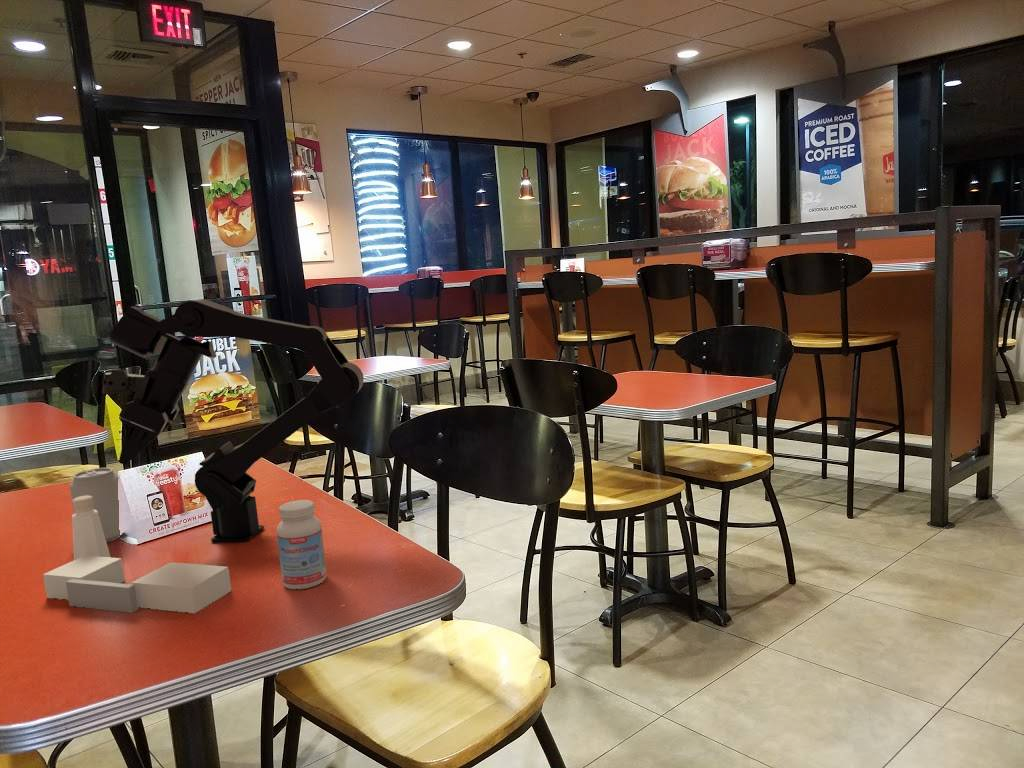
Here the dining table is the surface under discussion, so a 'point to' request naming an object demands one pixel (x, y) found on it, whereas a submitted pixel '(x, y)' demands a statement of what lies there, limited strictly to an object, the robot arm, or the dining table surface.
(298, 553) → the pill bottle
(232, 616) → the dining table surface
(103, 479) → the can
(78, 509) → the pepper shaker
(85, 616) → the dining table surface
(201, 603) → the grey block set
